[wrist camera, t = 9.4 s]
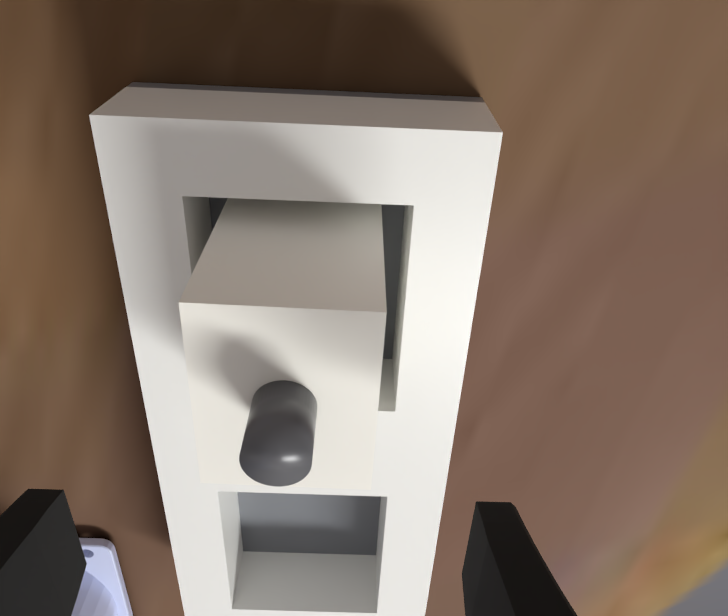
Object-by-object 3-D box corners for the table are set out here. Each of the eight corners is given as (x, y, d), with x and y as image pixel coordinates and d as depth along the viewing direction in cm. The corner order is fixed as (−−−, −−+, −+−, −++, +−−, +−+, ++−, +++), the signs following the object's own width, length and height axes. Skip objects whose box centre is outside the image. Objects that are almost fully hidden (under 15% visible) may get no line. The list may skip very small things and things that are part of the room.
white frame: (205, 566, 27) (188, 635, 24) (132, 81, 16) (88, 114, 14) (415, 572, 27) (420, 641, 25) (481, 97, 16) (502, 132, 14)
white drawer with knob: (242, 335, 20) (183, 540, 13) (234, 185, 17) (155, 352, 11) (370, 341, 20) (371, 548, 14) (380, 192, 17) (389, 363, 11)
